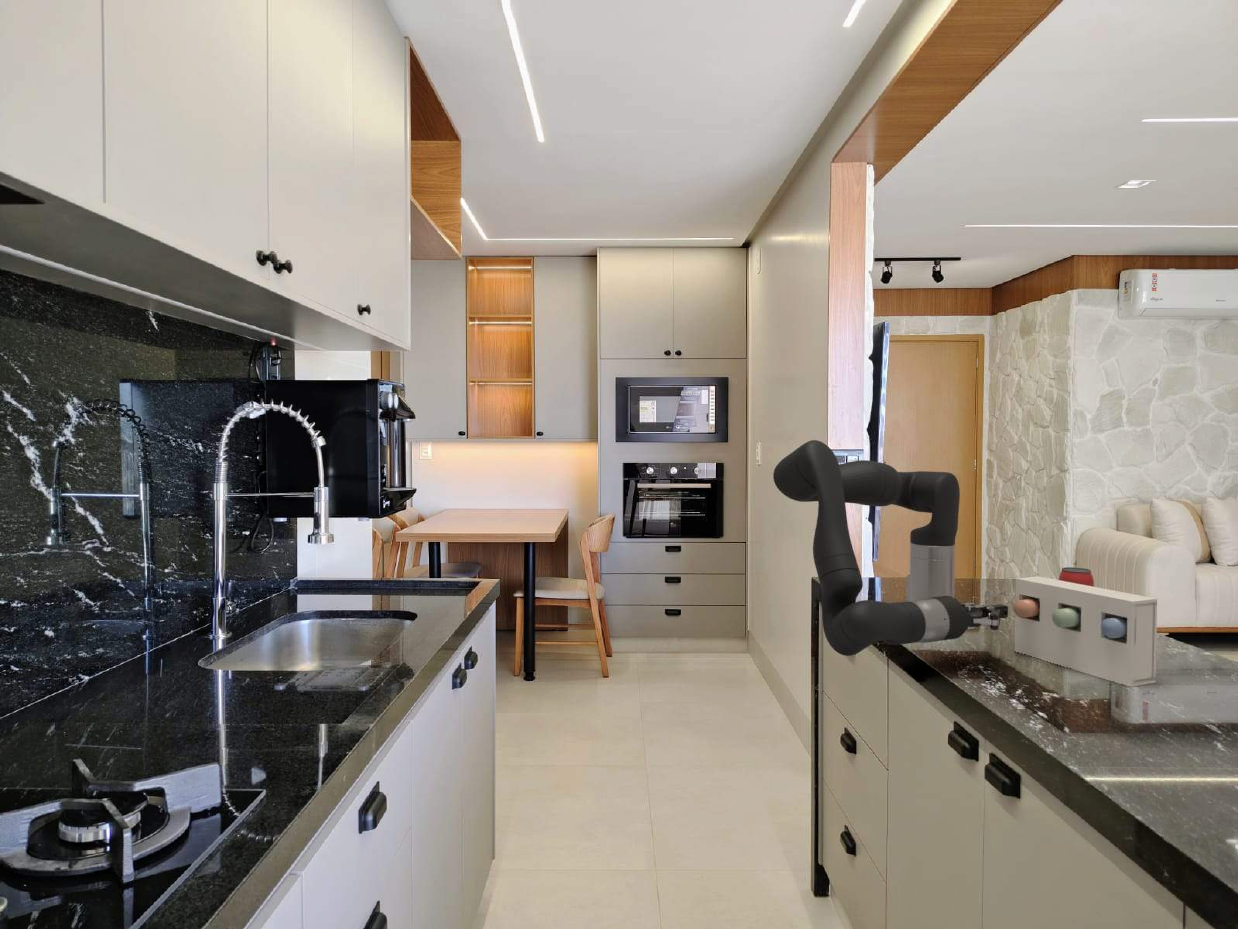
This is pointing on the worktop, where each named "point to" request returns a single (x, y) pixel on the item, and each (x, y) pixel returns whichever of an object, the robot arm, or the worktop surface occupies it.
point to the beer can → (1077, 576)
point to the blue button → (1114, 627)
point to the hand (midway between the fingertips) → (1004, 610)
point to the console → (1089, 630)
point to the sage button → (1067, 617)
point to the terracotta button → (1027, 608)
